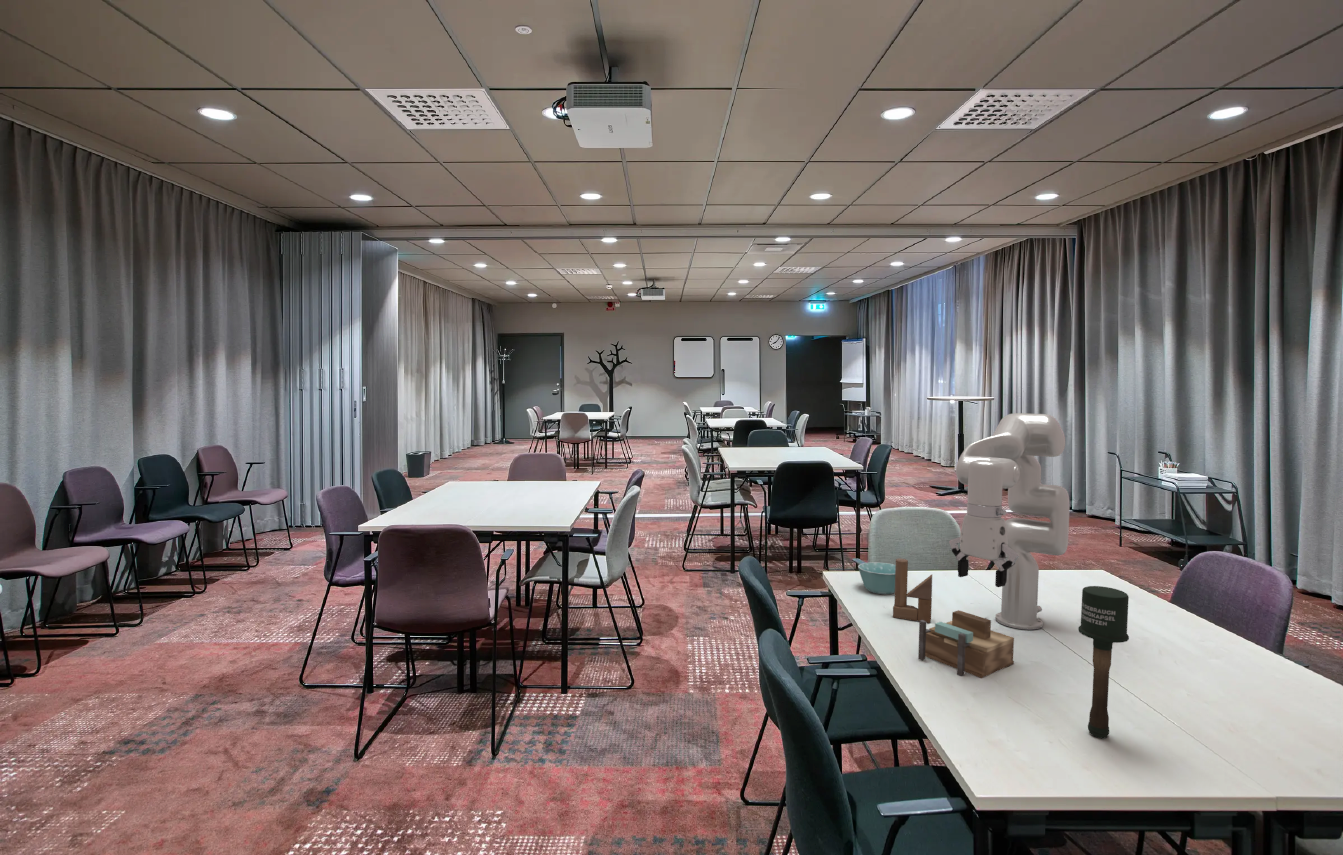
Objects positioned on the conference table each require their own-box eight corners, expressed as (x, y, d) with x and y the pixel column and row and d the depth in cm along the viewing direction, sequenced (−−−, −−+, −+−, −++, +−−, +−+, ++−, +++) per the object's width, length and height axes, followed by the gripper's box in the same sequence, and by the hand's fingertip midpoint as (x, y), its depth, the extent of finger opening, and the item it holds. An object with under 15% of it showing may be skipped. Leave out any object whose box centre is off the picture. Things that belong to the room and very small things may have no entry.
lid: (956, 627, 183) (957, 603, 182) (1013, 646, 170) (1014, 620, 169) (922, 639, 174) (923, 613, 174) (980, 660, 161) (981, 632, 161)
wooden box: (956, 643, 183) (957, 607, 183) (1014, 663, 170) (1015, 625, 170) (916, 658, 173) (918, 620, 173) (974, 681, 160) (976, 640, 159)
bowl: (854, 583, 239) (855, 560, 238) (899, 585, 237) (900, 562, 236) (861, 596, 224) (861, 572, 223) (909, 599, 221) (910, 574, 221)
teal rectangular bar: (940, 629, 172) (940, 621, 172) (972, 640, 165) (973, 632, 165) (934, 631, 171) (935, 623, 171) (967, 643, 164) (967, 634, 164)
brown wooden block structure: (930, 623, 199) (931, 564, 198) (892, 618, 203) (894, 560, 202) (931, 619, 202) (933, 561, 201) (894, 614, 207) (895, 557, 206)
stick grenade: (1064, 725, 140) (1070, 585, 138) (1102, 723, 140) (1109, 584, 138) (1093, 746, 131) (1100, 598, 129) (1134, 745, 132) (1141, 597, 130)
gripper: (1028, 515, 155) (1024, 587, 156) (960, 504, 169) (958, 570, 170) (1010, 518, 151) (1007, 592, 152) (942, 507, 165) (940, 574, 166)
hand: (981, 581), depth 161 cm, fingers open, 9 cm apart
